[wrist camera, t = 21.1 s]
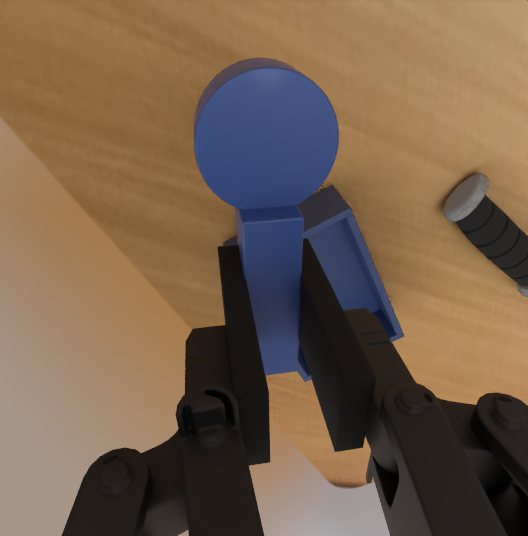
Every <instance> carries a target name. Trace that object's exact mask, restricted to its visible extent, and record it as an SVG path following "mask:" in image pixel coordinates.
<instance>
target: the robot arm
mask: <svg viewBox="0 0 528 536" xmlns="http://www.w3.org/2000/svg"><path fill="white" fill-rule="evenodd" d="M218 255H219V265H220V275H221V286H222V296H223V306H224V315H225V324H226V325H222V326H213V327H205V328H196V329H193V330H192V331H191V333H190V335H189V337H188V339H187V340H186V359H185V368H186V370H185V395H184V396H183V397H182V399H181V400H180V402H179V404H178V405H177V411H176V418H177V422H178V427H179V429H178V431H177V432H176V433H175V434H174V435H173V436H172V437H171V438H170V439H169V440H168V441H166V442H164V443H162V444H160V445H159V446H157V447H154V448H152V449H150V450H148V451H146V452H143V453H140V452H138V451H137V450H135V449H129V448H121V449H115V450H112V451H110V452H108V453H106V454H104V455H102V456H100V457H99V458H98V459H97V460H96V461H95V462H94V463H93V464H92V465H91V466H90V468H89V469H88V471H87V473H86V475H85V476H84V478H83V481H82V483H81V486H80V489H79V491H78V494H77V496H76V499H75V502H74V505H73V507H72V510H71V512H70V515H69V518H68V520H67V523H66V526H65V528H64V531H63V534H62V536H178V535H179V534H181V533H183V532H185V531H186V530H189V536H264V533H263V528H262V525H261V519H260V515H259V511H258V506H257V501H256V497H255V492H254V488H253V484H252V479H251V474H250V470H249V465H255V464H261V463H268V462H270V436H269V435H270V434H269V433H270V432H269V391H268V386H267V381H266V376H265V371H264V366H263V361H262V357H261V352H260V347H259V342H258V337H257V332H256V327H255V322H254V317H253V312H252V307H251V302H250V297H249V292H248V287H247V282H246V280H245V279H244V274H243V269H242V263H241V258H240V252H239V247H238V245H230V246H220V247H218ZM299 341H300V344H301V347H302V350H303V353H304V356H305V359H306V362H307V366H308V369H309V372H310V375H311V378H312V381H313V384H314V388H315V391H316V394H317V397H318V400H319V403H320V406H321V409H322V413H323V416H324V419H325V422H326V425H327V428H328V431H329V435H330V438H331V441H332V444H333V447H334V450H335V452H338V451H344V450H351V449H357V448H363V444H364V438H365V436H366V438H367V441H368V443H369V446H370V448H371V454H370V459H369V463H368V468H367V473H366V480H367V483H371V481H372V476H373V478H374V481H375V485H376V488H377V492H378V495H379V498H380V502H381V505H382V509H383V512H384V515H385V519H386V523H387V526H388V529H389V533H390V536H528V406H527V405H526V404H525V403H523V402H522V401H521V400H519V399H517V398H514V397H512V396H510V395H507V394H502V393H488V394H485V395H484V396H482V397H480V398H479V400H478V402H477V405H472V404H465V403H458V402H451V401H446V400H442V399H439V398H437V397H436V396H435V395H434V394H433V392H431V391H430V390H428V389H427V388H426V387H424V386H423V385H420V384H417V383H416V382H415V380H414V379H413V377H412V376H411V374H410V372H409V371H408V369H407V367H406V366H405V364H404V362H403V360H402V359H401V357H400V355H399V354H398V352H397V350H396V349H395V347H394V345H393V343H391V340H390V338H389V337H388V335H387V333H385V330H384V328H383V326H382V325H381V323H380V321H379V320H378V318H377V317H376V316H375V315H373V314H372V313H371V312H369V311H368V310H367V309H366V308H359V309H350V310H343V309H342V307H341V305H340V303H339V301H338V299H337V296H336V294H335V292H334V290H333V288H332V286H331V284H330V282H329V280H328V278H327V276H326V274H325V272H324V270H323V268H322V266H321V264H320V262H319V260H318V258H317V256H316V254H315V252H314V250H313V248H312V246H311V244H310V242H309V240H308V238H304V239H303V252H302V273H301V287H300V313H299Z"/></svg>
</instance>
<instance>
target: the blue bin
mask: <svg viewBox="0 0 528 536" xmlns="http://www.w3.org/2000/svg"><path fill="white" fill-rule="evenodd" d="M297 206H298V207H299V209H300V211H301V213H302V215H303V218H304V229H303V239H304V238H308V240H309V242H310V244H311V246H312V248H313V250H314V252H315V254H316V256H317V258H318V260H319V262H320V264H321V266H322V268H323V270H324V272H325V274H326V276H327V278H328V280H329V282H330V284H331V286H332V288H333V290H334V292H335V294H336V296H337V299H338V301H339V303H340V305H341V307H342V309H343V310H350V309H359V308H366V309H367V310H368V311H369V312H371V313H372V314H373V315H375V316H376V317H377V318H378V320H379V321H380V323H381V325H382V326H383V328H384V330H385V333H387V335H388V337H389V338H390V340H391V342H393V341H395V340H397V339H400V338H402V337H404V334H403V332H402V329H401V327H400V324H399V322H398V320H397V317H396V315H395V313H394V310H393V308H392V305H391V303H390V301H389V298H388V296H387V293H386V291H385V289H384V286H383V284H382V282H381V279H380V277H379V274H378V272H377V270H376V267H375V265H374V263H373V260H372V258H371V255H370V253H369V251H368V248H367V246H366V243H365V241H364V239H363V236H362V234H361V232H360V229H359V227H358V224H357V222H356V220H355V217H354V215H353V212H352V210H351V208H350V207H349V205H348V204H347V203H346V201H345V200H344V199H343V198H342V196H341V195H340V194H339V192H338V191H337V190H336V188H335V187H334V186H333V185H331V186H330V187H328V188H326V189H324V190H322V191H320V192H318V193H316V194H314V195H313V196H311V197H309V198H307V199H306V200H304V201H303V202H301V203H299V204H298V205H297ZM230 245H237V236H235V237H233V238H232V239H230V240H228V241H226V242H224V243H223V246H230ZM297 371H298V373H299V374H300V376H301V377H302V378H303V380H304V381H305V382H306V381H309V380H311V379H312V378H311V375H310V372H309V369H308V366H307V362H306V359H305V356H304V353H303V350H302V347H301V344H300V341H299V346H298V369H297Z"/></svg>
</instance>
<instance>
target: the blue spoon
mask: <svg viewBox="0 0 528 536" xmlns="http://www.w3.org/2000/svg"><path fill="white" fill-rule="evenodd" d="M338 143H339V130H338V122H337V118H336V114H335V112H334V109H333V107H332V104H331V103H330V101H329V99H328V97H327V96H326V95H325V93H324V92H323V91H322V89H321V88H320V87H319V86H318V85H317V84H316V83H314V82H313V81H312V80H310V79H309V78H308V77H306V76H305V75H303V74H302V73H301V72H299V71H298V70H296V69H295V68H293V67H292V66H290V65H288V64H286V63H284V62H281V61H278V60H274V59H269V58H253V59H247V60H243V61H239V62H237V63H235V64H232V65H230V66H229V67H227V68H225V69H224V70H222V71H221V72H220V73H219V74H217V75H216V76H215V77H214V78H213V79H212V81H211V82H210V83H209V84H208V86H207V87H206V88H205V90H204V92H203V93H202V95H201V97H200V99H199V102H198V105H197V108H196V113H195V119H194V150H195V157H196V162H197V165H198V168H199V171H200V173H201V175H202V177H203V179H204V180H205V182H206V183H207V185H208V186H209V188H210V189H211V190H212V191H213V192H214V193H215V194H216V195H217V196H218V197H219V198H220V199H222V200H223V201H225V202H226V203H228V204H230V205H232V206H234V207H235V212H236V228H237V245H238V247H239V252H240V258H241V263H242V269H243V274H244V279H245V280H246V282H247V287H248V292H249V297H250V302H251V307H252V312H253V317H254V322H255V327H256V332H257V337H258V342H259V347H260V352H261V357H262V361H263V366H264V371H265V375H271V374H279V373H287V372H295V371H297V369H298V346H299V313H300V287H301V273H302V252H303V229H304V218H303V215H302V213H301V211H300V209H299V207H298V206H297V205H298V204H299V203H301V202H303V201H304V200H306V199H307V198H309V197H310V196H311V195H312V194H313V193H314V192H315V191H316V190H317V189H318V188H319V187H320V186H321V185H322V183H323V182H324V181H325V179H326V178H327V176H328V174H329V173H330V171H331V169H332V166H333V164H334V161H335V158H336V155H337V150H338Z"/></svg>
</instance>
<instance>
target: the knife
mask: <svg viewBox="0 0 528 536" xmlns="http://www.w3.org/2000/svg"><path fill="white" fill-rule="evenodd" d="M488 185H489V180H488V178H487V177H486V176H485V175H484V174H482V173H481V174H475V175H473V176H471V177H469V178H467V179H466V180H464V181H463V182H462V183H461V184H459V185H458V186H457V187H456V188H455V189H454V191H453V192H452V193H451V194H450V195H449V197H448V198H447V200H446V202H445V204H444V207H443V214H444V216H445V217H446V218H447V220H449V221H453V222H456V224H457V225H458V227H459V228H460V229H461V231H462V232H463V233H464V234H465V236H466V237H467V238H468V239H469V240H470V241H471V242H472V244H474V245H475V246H476V247H477V248H478V249H479V250H480V251H481V252H482V253H483V254H484V255H485V256H486V257H487V258H488V259H489V260H491V261H492V262H493V263H494V264H495V265H496V266H498V267H499V268H500V269H501V270H502V271H504V272H505V273H506V274H507V275H508V276H509V277H511V278H512V279H513V280H515V281H516V282H517V286H518V291H519V292H520V293H521V295H523V296H526V297H528V236H527V235H526V234H525V233H524V232H523V231H521V230H520V229H519V228H518V227H517V226H516V225H515V223H514V222H513V221H512V220H511V219H510V218H509V217H508V216H507V215H506V214H505V213H504V212H503V211H502V210H501V209H500V208H499V207H498V206H496V205H495V204H494V203H493V202H492V201H491V200H490V199H489V198H488V197H487V196H486V195H485V193H486V191H487V189H488Z"/></svg>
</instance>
